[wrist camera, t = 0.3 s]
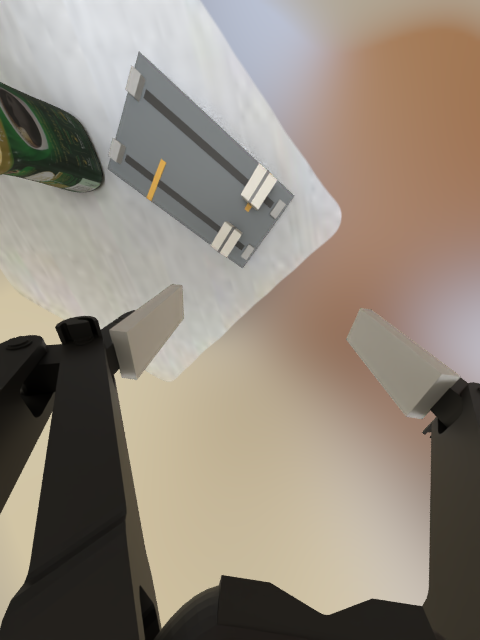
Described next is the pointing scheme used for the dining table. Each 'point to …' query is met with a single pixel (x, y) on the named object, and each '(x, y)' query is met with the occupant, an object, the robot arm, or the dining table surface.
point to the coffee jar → (45, 144)
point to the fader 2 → (258, 187)
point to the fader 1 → (226, 239)
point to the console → (188, 163)
